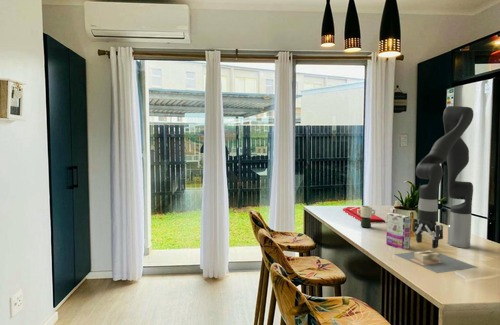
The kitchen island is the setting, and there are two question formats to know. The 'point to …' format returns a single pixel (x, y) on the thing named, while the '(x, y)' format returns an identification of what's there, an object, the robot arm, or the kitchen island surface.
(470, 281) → the kitchen island surface
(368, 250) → the kitchen island surface
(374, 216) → the dish drying mat
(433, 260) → the maple deck block
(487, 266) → the kitchen island surface
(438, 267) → the rubber mat
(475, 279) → the kitchen island surface
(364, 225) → the character mug
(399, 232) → the candy bar box
